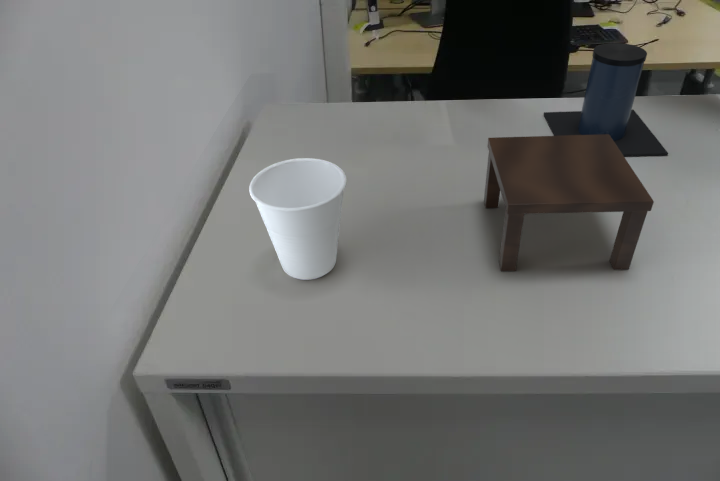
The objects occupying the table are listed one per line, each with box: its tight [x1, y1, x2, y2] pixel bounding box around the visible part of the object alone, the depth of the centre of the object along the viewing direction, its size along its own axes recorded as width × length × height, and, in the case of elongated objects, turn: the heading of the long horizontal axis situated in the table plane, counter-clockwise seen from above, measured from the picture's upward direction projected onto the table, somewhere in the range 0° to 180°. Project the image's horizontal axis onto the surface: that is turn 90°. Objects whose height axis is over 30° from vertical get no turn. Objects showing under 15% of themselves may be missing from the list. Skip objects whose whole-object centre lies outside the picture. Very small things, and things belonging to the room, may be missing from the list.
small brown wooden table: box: [483, 134, 655, 272], centre depth 63 cm, size 14×14×9 cm
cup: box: [248, 157, 348, 281], centre depth 60 cm, size 10×10×11 cm
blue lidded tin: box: [578, 42, 648, 141], centre depth 80 cm, size 7×7×12 cm
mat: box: [543, 109, 669, 158], centre depth 84 cm, size 14×14×1 cm
